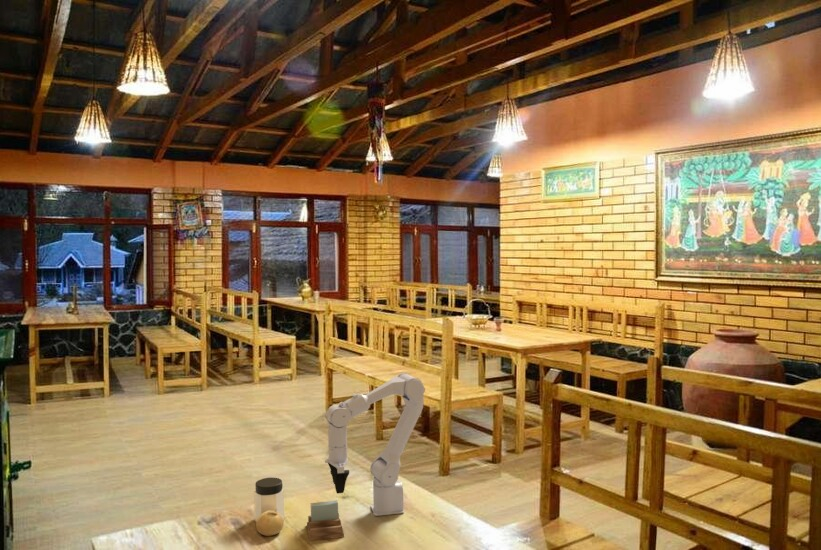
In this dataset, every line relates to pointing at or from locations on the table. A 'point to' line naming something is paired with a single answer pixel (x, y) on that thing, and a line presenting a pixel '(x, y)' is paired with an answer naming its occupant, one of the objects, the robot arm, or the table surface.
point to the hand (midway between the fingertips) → (338, 488)
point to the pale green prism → (324, 511)
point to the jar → (269, 496)
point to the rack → (324, 529)
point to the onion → (269, 523)
